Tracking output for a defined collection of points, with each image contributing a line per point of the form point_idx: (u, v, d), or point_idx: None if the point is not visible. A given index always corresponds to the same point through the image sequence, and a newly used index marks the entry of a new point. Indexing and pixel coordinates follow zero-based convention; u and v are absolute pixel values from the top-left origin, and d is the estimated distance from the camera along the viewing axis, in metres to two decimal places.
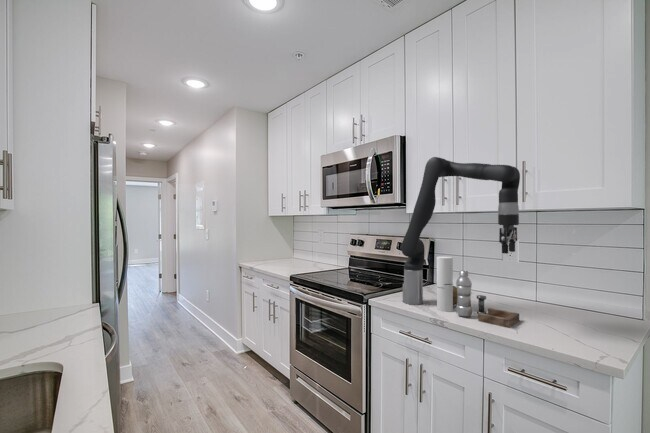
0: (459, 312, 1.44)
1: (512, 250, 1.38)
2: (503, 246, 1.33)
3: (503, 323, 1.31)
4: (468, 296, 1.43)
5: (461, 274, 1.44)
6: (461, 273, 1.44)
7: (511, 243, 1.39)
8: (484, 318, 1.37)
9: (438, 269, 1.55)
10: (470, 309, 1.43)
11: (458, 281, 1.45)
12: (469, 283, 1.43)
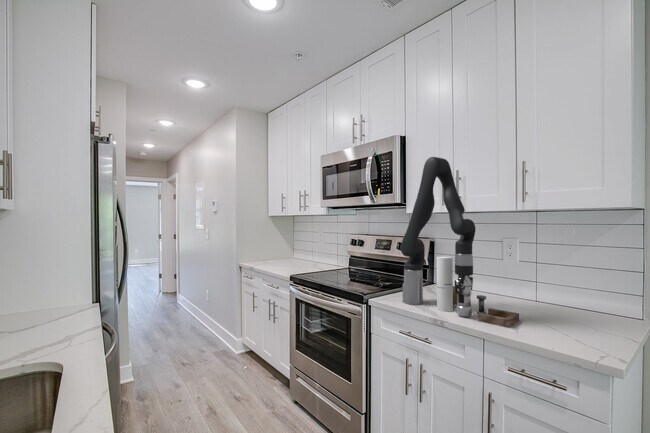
0: (459, 312, 1.44)
1: None
2: (459, 296, 1.43)
3: (503, 323, 1.31)
4: (468, 296, 1.43)
5: None
6: None
7: None
8: (484, 318, 1.37)
9: (438, 269, 1.55)
10: (470, 309, 1.43)
11: None
12: (469, 283, 1.43)
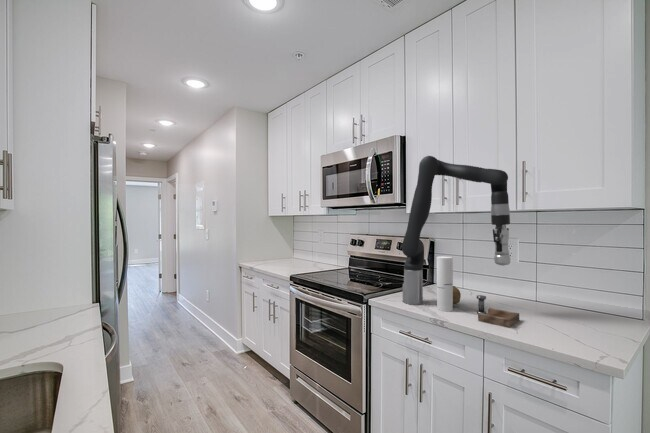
0: (498, 261, 1.47)
1: None
2: (497, 245, 1.47)
3: (503, 323, 1.31)
4: (506, 245, 1.47)
5: None
6: None
7: None
8: (484, 318, 1.37)
9: (438, 269, 1.55)
10: (508, 257, 1.46)
11: None
12: (507, 232, 1.47)
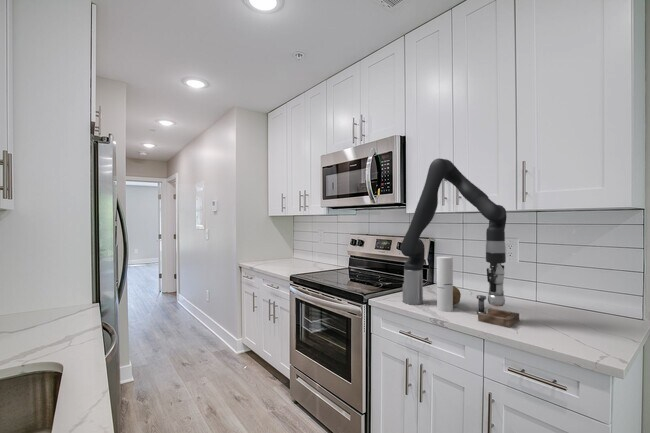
0: (491, 302, 1.38)
1: None
2: (491, 285, 1.37)
3: (503, 323, 1.31)
4: (501, 285, 1.37)
5: None
6: None
7: None
8: (484, 318, 1.37)
9: (438, 269, 1.55)
10: (503, 298, 1.37)
11: None
12: (502, 271, 1.37)
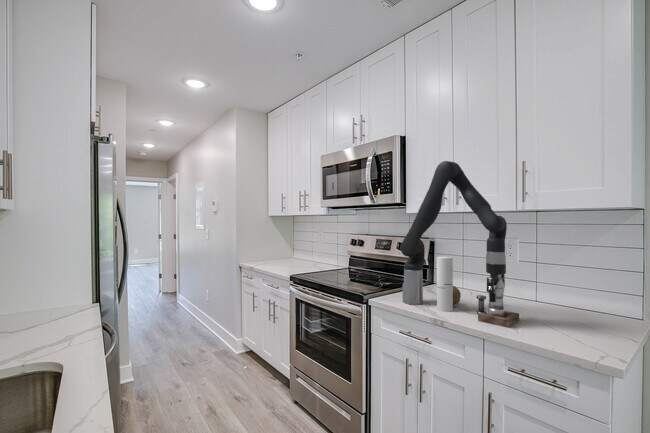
0: None
1: None
2: (490, 295, 1.36)
3: (503, 323, 1.31)
4: (501, 298, 1.38)
5: None
6: None
7: None
8: (484, 318, 1.37)
9: (438, 269, 1.55)
10: (503, 312, 1.37)
11: None
12: (502, 284, 1.38)
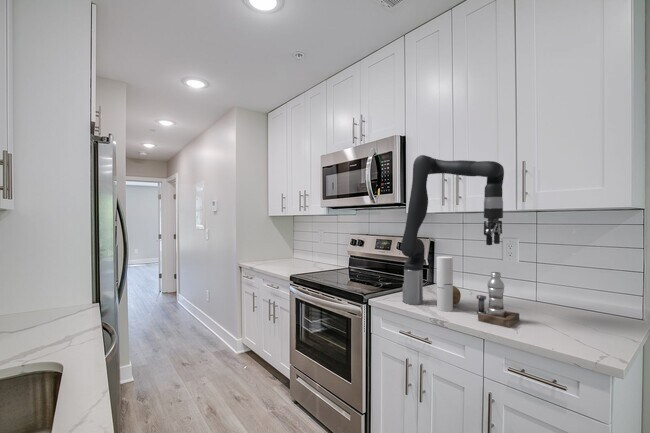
0: None
1: (497, 242, 1.46)
2: (487, 238, 1.40)
3: (503, 323, 1.31)
4: (501, 298, 1.38)
5: (493, 276, 1.39)
6: (493, 274, 1.39)
7: (496, 236, 1.46)
8: (484, 318, 1.37)
9: (438, 269, 1.55)
10: (503, 312, 1.37)
11: (489, 283, 1.40)
12: (502, 284, 1.38)
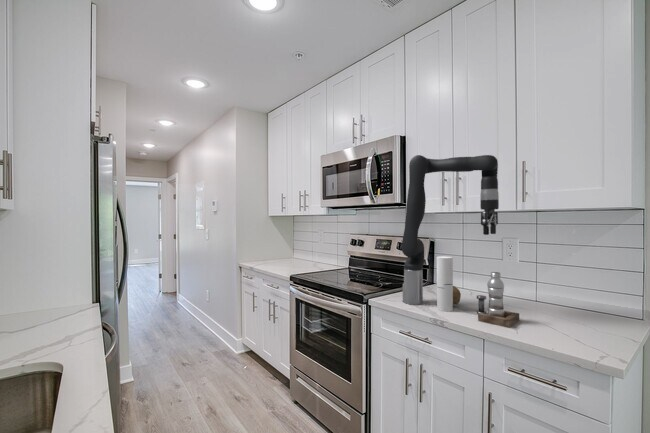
0: None
1: (493, 232, 1.53)
2: (484, 228, 1.47)
3: (503, 323, 1.31)
4: (501, 298, 1.38)
5: (493, 275, 1.39)
6: (493, 274, 1.39)
7: (492, 226, 1.54)
8: (484, 318, 1.37)
9: (438, 269, 1.55)
10: (503, 312, 1.37)
11: (489, 283, 1.40)
12: (502, 284, 1.38)
